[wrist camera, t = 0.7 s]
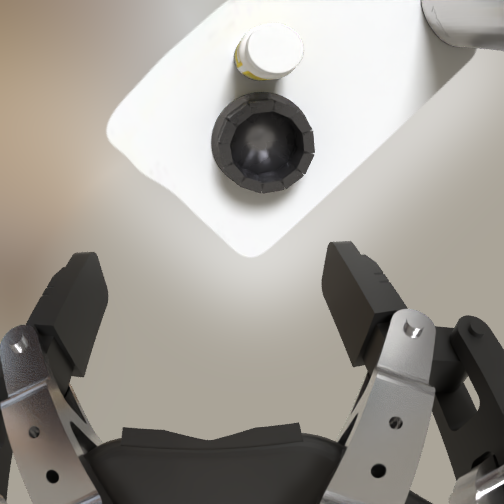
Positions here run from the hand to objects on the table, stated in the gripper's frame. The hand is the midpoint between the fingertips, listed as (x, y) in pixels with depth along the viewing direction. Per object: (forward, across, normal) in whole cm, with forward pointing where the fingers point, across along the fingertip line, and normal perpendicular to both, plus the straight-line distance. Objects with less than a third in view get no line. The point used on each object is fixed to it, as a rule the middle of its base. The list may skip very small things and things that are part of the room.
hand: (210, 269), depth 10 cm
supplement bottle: (+22, -4, -8) cm, 24 cm away
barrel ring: (+22, -5, 0) cm, 22 cm away
